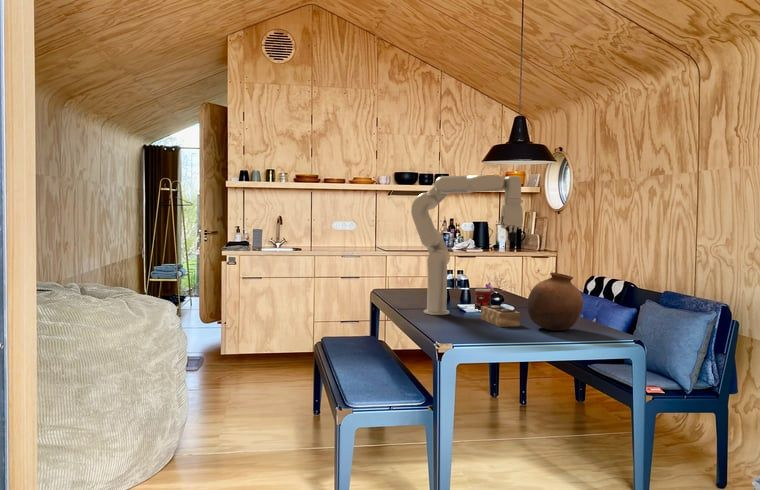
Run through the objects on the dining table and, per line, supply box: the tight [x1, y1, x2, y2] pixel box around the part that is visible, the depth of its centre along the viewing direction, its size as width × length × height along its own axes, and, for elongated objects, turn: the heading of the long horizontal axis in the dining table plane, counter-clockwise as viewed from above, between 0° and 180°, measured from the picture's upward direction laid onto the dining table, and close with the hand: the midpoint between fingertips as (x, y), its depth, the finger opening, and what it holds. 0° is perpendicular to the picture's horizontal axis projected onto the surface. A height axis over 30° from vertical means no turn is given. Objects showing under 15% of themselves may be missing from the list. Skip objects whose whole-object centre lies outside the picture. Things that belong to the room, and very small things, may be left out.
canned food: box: [474, 288, 492, 310], centre depth 312 cm, size 8×8×11 cm
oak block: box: [480, 304, 521, 328], centre depth 281 cm, size 19×10×7 cm, turn 17°
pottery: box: [526, 271, 584, 332], centre depth 266 cm, size 23×23×25 cm
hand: (511, 240), depth 292 cm, fingers closed
